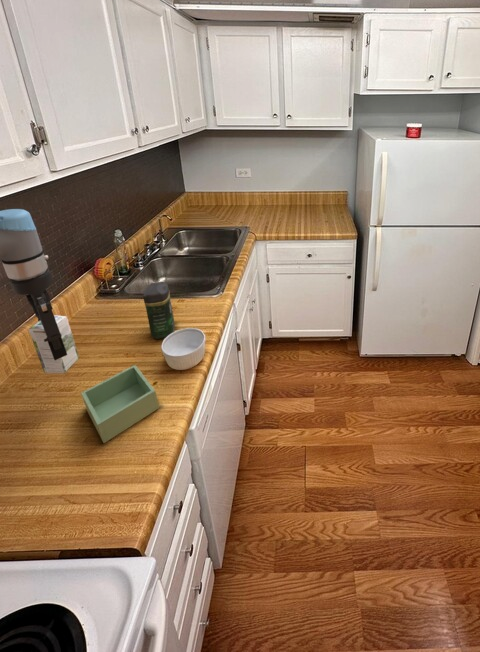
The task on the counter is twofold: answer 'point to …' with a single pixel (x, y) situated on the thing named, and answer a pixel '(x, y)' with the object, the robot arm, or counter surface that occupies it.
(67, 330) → the syrup box
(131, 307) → the counter surface
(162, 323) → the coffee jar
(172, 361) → the ramekin
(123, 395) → the bin
